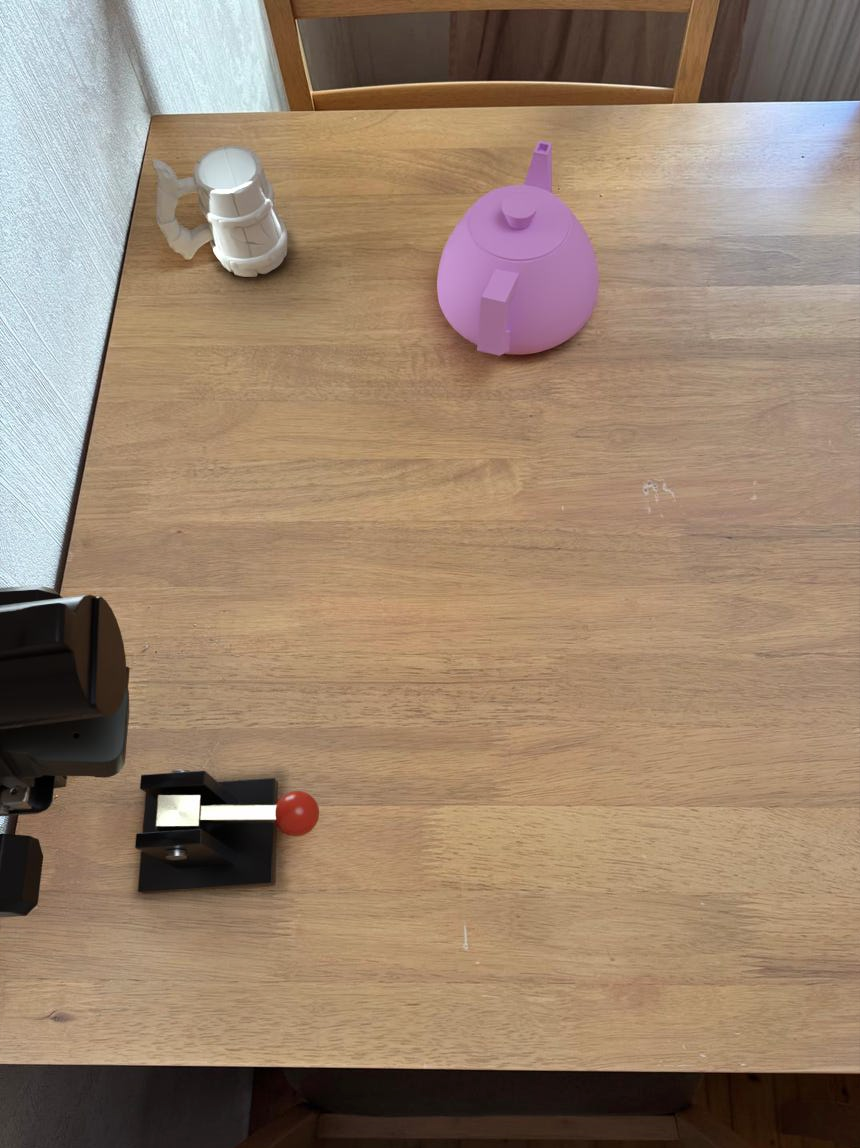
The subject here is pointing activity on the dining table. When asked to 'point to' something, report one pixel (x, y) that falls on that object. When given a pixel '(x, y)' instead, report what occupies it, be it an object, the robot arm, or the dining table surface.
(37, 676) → the robot arm
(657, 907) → the dining table surface
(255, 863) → the switch bracket
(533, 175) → the teapot
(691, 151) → the dining table surface
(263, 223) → the mug
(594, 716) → the dining table surface
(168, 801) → the lever
